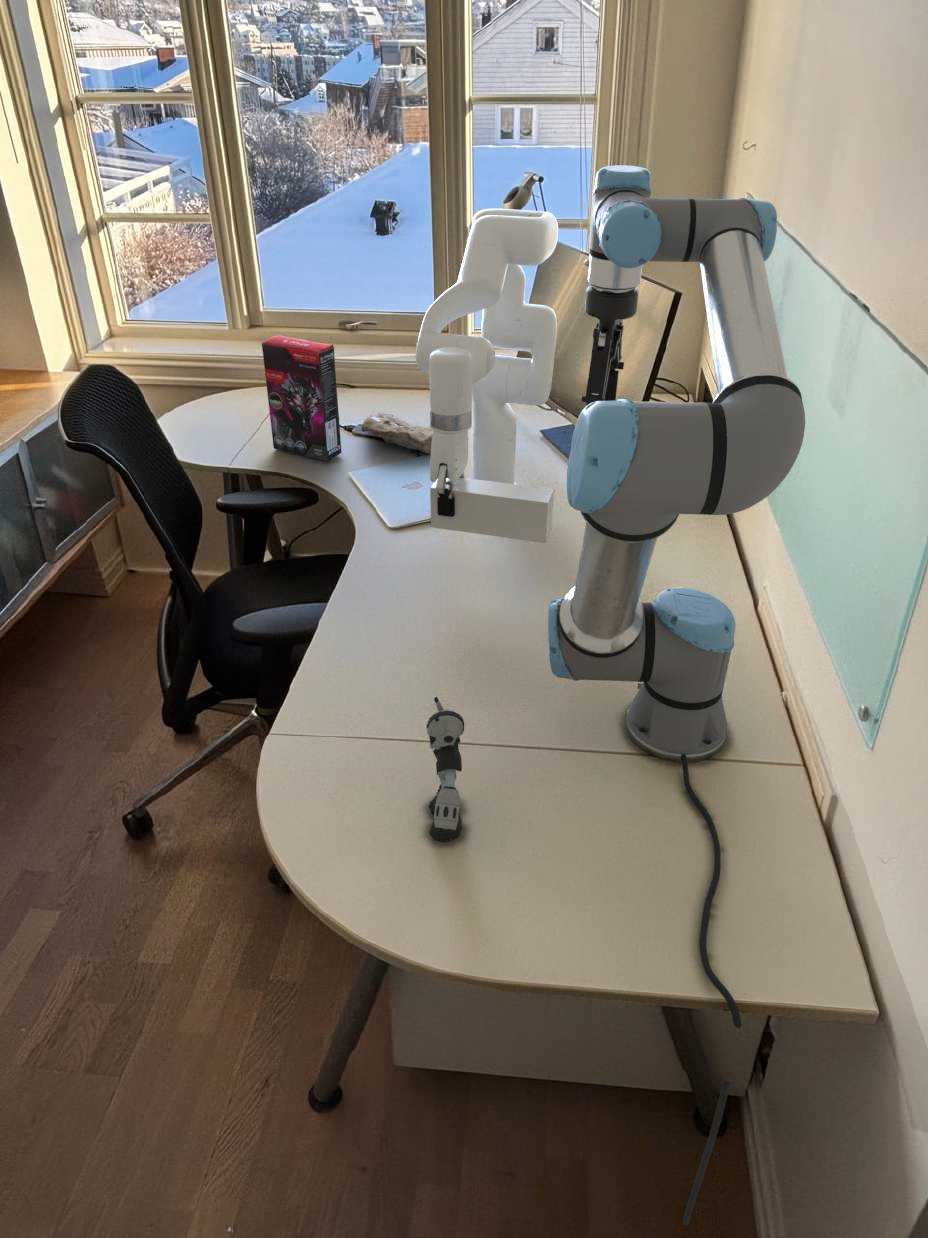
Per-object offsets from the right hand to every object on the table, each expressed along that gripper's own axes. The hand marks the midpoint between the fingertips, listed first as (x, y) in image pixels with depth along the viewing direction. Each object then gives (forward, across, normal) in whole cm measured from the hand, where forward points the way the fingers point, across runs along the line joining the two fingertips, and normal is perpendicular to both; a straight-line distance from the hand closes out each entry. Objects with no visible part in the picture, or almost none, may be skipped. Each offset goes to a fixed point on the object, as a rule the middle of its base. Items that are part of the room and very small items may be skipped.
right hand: (599, 425), depth 144 cm
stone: (+40, -70, -59) cm, 100 cm away
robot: (+38, +52, -10) cm, 65 cm away
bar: (+29, -14, -20) cm, 38 cm away
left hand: (+26, -14, -28) cm, 41 cm away
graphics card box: (+40, -58, -79) cm, 105 cm away
